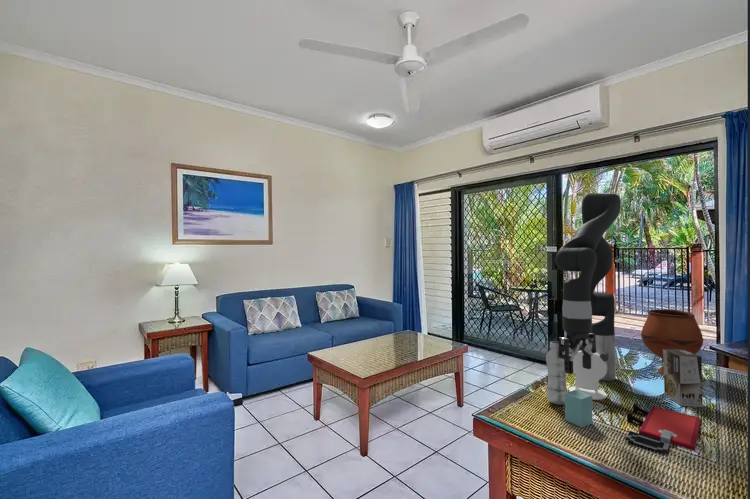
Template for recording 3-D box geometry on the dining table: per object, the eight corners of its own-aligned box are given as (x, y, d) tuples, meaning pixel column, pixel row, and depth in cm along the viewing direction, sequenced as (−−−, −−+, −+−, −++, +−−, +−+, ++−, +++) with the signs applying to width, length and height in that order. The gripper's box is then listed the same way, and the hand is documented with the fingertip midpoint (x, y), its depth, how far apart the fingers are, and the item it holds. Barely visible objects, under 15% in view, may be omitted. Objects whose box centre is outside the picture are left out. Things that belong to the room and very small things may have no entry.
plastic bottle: (567, 400, 118) (566, 340, 118) (569, 409, 112) (568, 345, 112) (546, 397, 120) (545, 339, 121) (546, 405, 114) (545, 343, 115)
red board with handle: (616, 440, 93) (692, 465, 83) (616, 429, 93) (692, 453, 83) (637, 406, 114) (700, 422, 104) (638, 397, 114) (700, 413, 104)
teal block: (565, 420, 105) (564, 393, 105) (575, 416, 107) (575, 389, 107) (581, 427, 100) (581, 399, 100) (592, 423, 102) (591, 395, 103)
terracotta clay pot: (650, 379, 136) (649, 314, 136) (636, 364, 154) (634, 307, 154) (714, 385, 129) (713, 317, 129) (691, 369, 146) (690, 309, 147)
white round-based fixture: (609, 391, 125) (609, 349, 125) (608, 402, 116) (607, 357, 116) (571, 384, 132) (570, 344, 132) (566, 394, 123) (566, 351, 123)
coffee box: (704, 407, 111) (702, 356, 111) (680, 406, 113) (679, 355, 113) (684, 396, 120) (683, 348, 120) (663, 394, 121) (662, 348, 122)
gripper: (579, 311, 110) (580, 363, 110) (549, 315, 104) (550, 371, 104) (604, 315, 104) (605, 370, 104) (574, 319, 97) (575, 378, 97)
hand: (578, 370), depth 104 cm, fingers open, 8 cm apart
